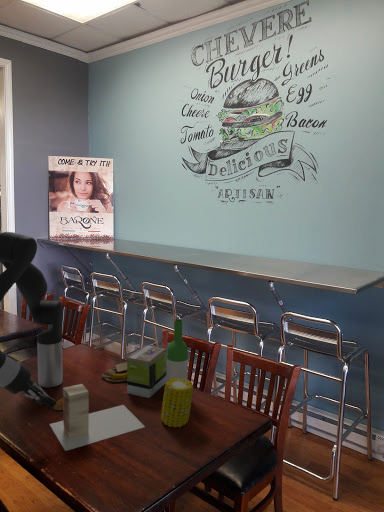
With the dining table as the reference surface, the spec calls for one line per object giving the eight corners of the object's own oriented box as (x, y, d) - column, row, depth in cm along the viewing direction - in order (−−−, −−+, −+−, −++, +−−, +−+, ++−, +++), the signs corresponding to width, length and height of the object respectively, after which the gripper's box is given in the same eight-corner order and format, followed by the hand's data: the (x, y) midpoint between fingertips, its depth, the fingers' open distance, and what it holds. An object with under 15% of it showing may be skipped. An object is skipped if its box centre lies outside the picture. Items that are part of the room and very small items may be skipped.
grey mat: (49, 425, 140) (49, 424, 140) (123, 406, 155) (123, 404, 155) (65, 452, 126) (65, 450, 126) (145, 428, 141) (145, 426, 141)
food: (166, 417, 151) (193, 424, 148) (152, 426, 140) (181, 434, 137) (172, 373, 152) (200, 379, 149) (160, 378, 141) (189, 385, 138)
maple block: (62, 429, 137) (62, 388, 135) (82, 424, 141) (81, 383, 139) (68, 439, 132) (68, 395, 130) (88, 433, 136) (88, 391, 134)
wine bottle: (172, 403, 157) (174, 324, 153) (162, 395, 164) (164, 318, 159) (190, 399, 162) (193, 321, 157) (179, 390, 168) (182, 315, 164)
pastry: (58, 414, 148) (57, 404, 147) (49, 407, 153) (49, 397, 152) (83, 406, 154) (83, 396, 153) (74, 399, 159) (74, 389, 158)
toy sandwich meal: (102, 371, 184) (102, 361, 183) (134, 369, 187) (134, 359, 186) (102, 384, 172) (102, 373, 171) (136, 382, 175) (136, 371, 174)
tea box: (145, 378, 178) (145, 344, 176) (167, 383, 174) (168, 348, 172) (126, 393, 164) (126, 356, 162) (149, 399, 161) (150, 361, 158)
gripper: (24, 371, 119) (69, 403, 127) (14, 356, 129) (56, 386, 138) (4, 394, 116) (51, 425, 125) (-5, 376, 127) (39, 405, 136)
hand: (53, 404), depth 131 cm, fingers closed
